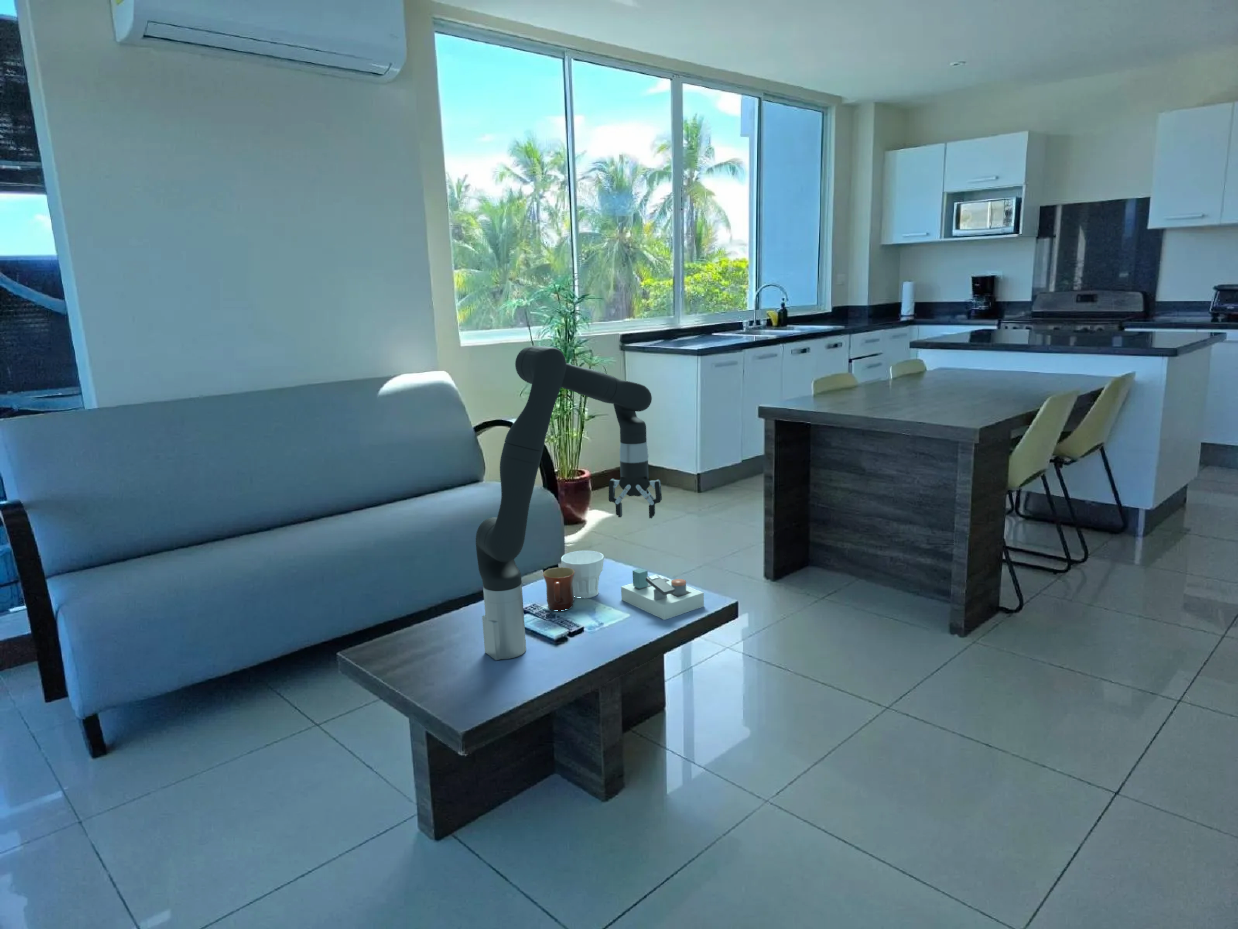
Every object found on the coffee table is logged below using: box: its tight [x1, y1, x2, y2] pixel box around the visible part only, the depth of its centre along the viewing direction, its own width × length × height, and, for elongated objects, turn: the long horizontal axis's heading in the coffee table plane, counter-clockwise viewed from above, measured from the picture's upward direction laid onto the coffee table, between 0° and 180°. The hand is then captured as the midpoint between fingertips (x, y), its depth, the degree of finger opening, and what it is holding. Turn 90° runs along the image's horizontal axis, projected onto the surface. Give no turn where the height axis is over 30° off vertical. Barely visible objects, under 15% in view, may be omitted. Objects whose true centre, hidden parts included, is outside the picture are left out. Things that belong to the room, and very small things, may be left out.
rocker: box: [646, 574, 675, 595], centre depth 211 cm, size 4×8×1 cm, turn 36°
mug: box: [542, 566, 575, 612], centre depth 217 cm, size 12×9×10 cm
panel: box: [620, 574, 705, 621], centre depth 219 cm, size 14×19×7 cm
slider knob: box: [632, 567, 649, 589], centre depth 220 cm, size 3×3×4 cm
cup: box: [560, 550, 605, 599], centre depth 228 cm, size 12×12×11 cm
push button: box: [671, 578, 687, 597], centre depth 216 cm, size 4×4×5 cm
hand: (635, 517), depth 214 cm, fingers open, 8 cm apart
